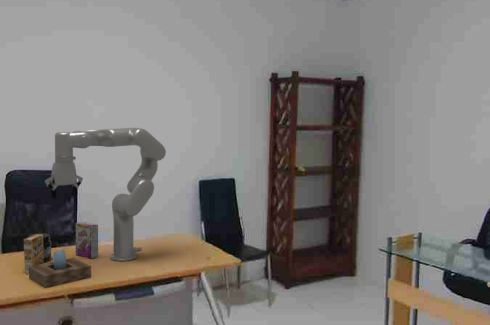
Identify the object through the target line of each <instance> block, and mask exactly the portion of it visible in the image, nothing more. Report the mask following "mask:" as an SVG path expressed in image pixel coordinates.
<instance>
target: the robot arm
mask: <svg viewBox="0 0 490 325" xmlns="http://www.w3.org/2000/svg"><path fill="white" fill-rule="evenodd" d="M127 146H137V147H139V148H140V150H139V151H140V152H139V153H140V156H141V163H140V165H139V167H138V169H137V170H136V172H135V173H134V174H133V176H132V177H131V178H130V180H129V181H128V182H127V185H126V188H127V191H128V193H129V194H127V193H118V194H116V195H115V197H113V199H112V201H111V209H112V217H113V253H112V254H110V256H109V259H111V260H112V261H116V262H117V261H118V262H128V261H133V260H135V259H136V258H137V256H138V255H137V252H142V251H143V248H142V247H135V246H134V221H135V220H134V217H135V216H137V215H138V214H139V213H141V212H142V210H143V208H144V207H145V206H146V204H147V203H148V202H149V200H150V199H151V198H152V196H153V193H154V190H155V185H154V183H153V181H152V180H153V179H154V177H155V175H156V174H157V171H158V162H159V161H162V160H164V158H165V156H166V153H167V152H166V148H165V146H164V145H163V144H162V143H161V142H160V141H158V139H157V138H156V137H154V136H153V135H152V133H150V132H148V131H147V130H146V129H145V128H142V127H141V128H140V127H124V128H122V127H121V128H103V129H92V130H91V129H89V130H75V131H72V132H69V131H59V132H58V131H57V132H55V135H54V160H55V161H54V162H53V163H52V168H51V175H50V177H48V178H46V179H45V180H44V183H45V185H46V187H47V188H48V189H49V190H50V197H51V198H52V199H53V200H57V190H56V189H57V187H58V186H69V185H71V186H72V188H71V190H72V191H71V193H72V194H71V195H72V197H75V198H77V197H78V190H79V189H78V188H79V187H80V186H81V184H82V182H83V179H84V178H83V177H82V176H80V175H78V174H77V168H76V163H75V162H74V161H75V160H76V159H77V158H76V156H74V149H87V148H89V147H105V148H112V147H113V148H114V147H115V148H116V147H127ZM77 180H78V181H77Z"/></svg>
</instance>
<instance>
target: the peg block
mask: <svg viewBox="0 0 490 325" xmlns="http://www.w3.org/2000/svg"><path fill="white" fill-rule="evenodd" d="M90 278H92V266H91V265H89V264H88V263H86V262H84V261H81V260H79V259H77V258H74V257H71V258H66V268H65V269H60V270H54V261H50V262H44V264H40V265H35V266H30V267H29V273H28V279H30V280H31V281H32V282H35V283H36V284H38V285H39V286H42V287H43V288H46V289H47V288H48V289H49V288H51V287H55V286H56V287H57V286H60V285H64V284H68V283H73V282H77V281H80V280H81V281H82V280H86V279H90Z"/></svg>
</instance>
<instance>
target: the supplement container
mask: <svg viewBox="0 0 490 325" xmlns="http://www.w3.org/2000/svg"><path fill="white" fill-rule="evenodd" d="M35 234H37V235H43V258H44V263H48V262H49V261H50V260H51V259H52V241H51V235H50V234H49V233H34V234H33V233H32V234H29V236H28V237H30V236H33V235H35Z"/></svg>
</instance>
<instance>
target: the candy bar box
mask: <svg viewBox="0 0 490 325" xmlns="http://www.w3.org/2000/svg"><path fill="white" fill-rule="evenodd" d="M74 227H75V229H74V230H75V256H78V257H82V258H86V259H95V258H98V257H99V224H96V223H93V222H92V223H91V222H87V221H77V222H76V223H75V226H74Z"/></svg>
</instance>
